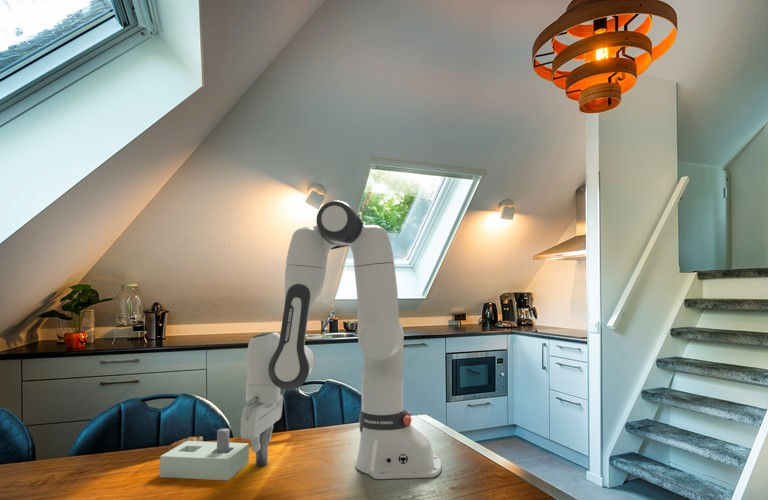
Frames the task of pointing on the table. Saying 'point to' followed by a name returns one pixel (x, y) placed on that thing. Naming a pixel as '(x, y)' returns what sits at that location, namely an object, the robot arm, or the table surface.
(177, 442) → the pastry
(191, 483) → the table surface
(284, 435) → the table surface
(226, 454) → the hole block
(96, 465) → the table surface
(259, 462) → the peg
